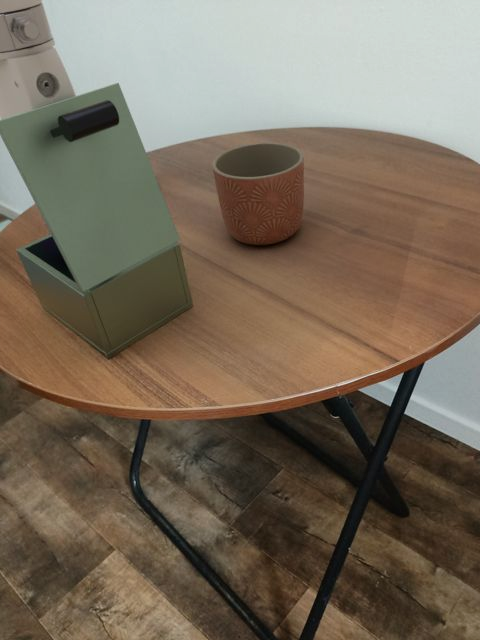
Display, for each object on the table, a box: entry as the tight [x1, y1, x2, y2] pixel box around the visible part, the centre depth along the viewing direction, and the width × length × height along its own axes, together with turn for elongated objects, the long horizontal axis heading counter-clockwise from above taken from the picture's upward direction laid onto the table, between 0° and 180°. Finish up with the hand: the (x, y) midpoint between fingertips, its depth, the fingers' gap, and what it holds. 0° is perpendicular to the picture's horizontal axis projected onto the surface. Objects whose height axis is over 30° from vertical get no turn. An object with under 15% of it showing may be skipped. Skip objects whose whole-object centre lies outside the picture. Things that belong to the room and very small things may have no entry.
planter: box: [211, 141, 305, 246], centre depth 74 cm, size 12×12×11 cm
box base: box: [15, 233, 194, 360], centre depth 63 cm, size 16×13×9 cm
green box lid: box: [0, 82, 181, 292], centre depth 50 cm, size 16×13×6 cm
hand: (72, 213), depth 60 cm, fingers closed on container, 4 cm apart
